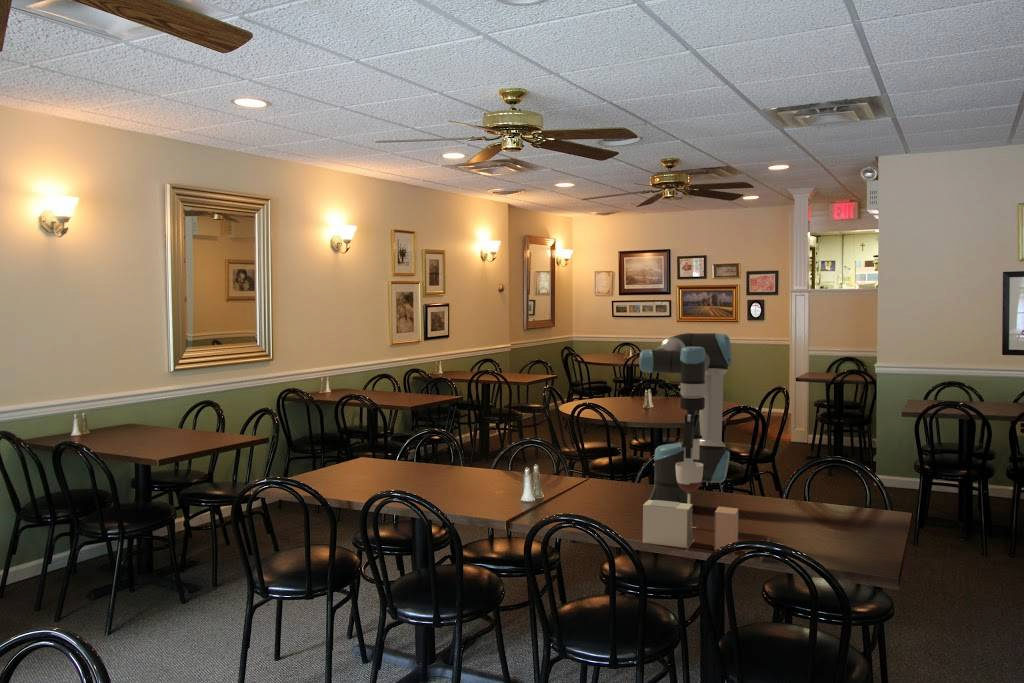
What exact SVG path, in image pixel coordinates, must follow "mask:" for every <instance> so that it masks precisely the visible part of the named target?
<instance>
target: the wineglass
mask: <svg viewBox="0 0 1024 683" xmlns="http://www.w3.org/2000/svg"><path fill="white" fill-rule="evenodd" d="M702 476H703V464H702V463H698V462H693V469H688V468H684V462H678V463H676V478H677V483H678V485H679V487H680V488H681V489H682V490H684V491H685V492H687V493H688V504H690V501H691V493H693V492H694V491H696V490H698V489H699V488H700V487H701V485H702ZM693 529H697V527H696V526H695V527H694V526H693Z"/></svg>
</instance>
